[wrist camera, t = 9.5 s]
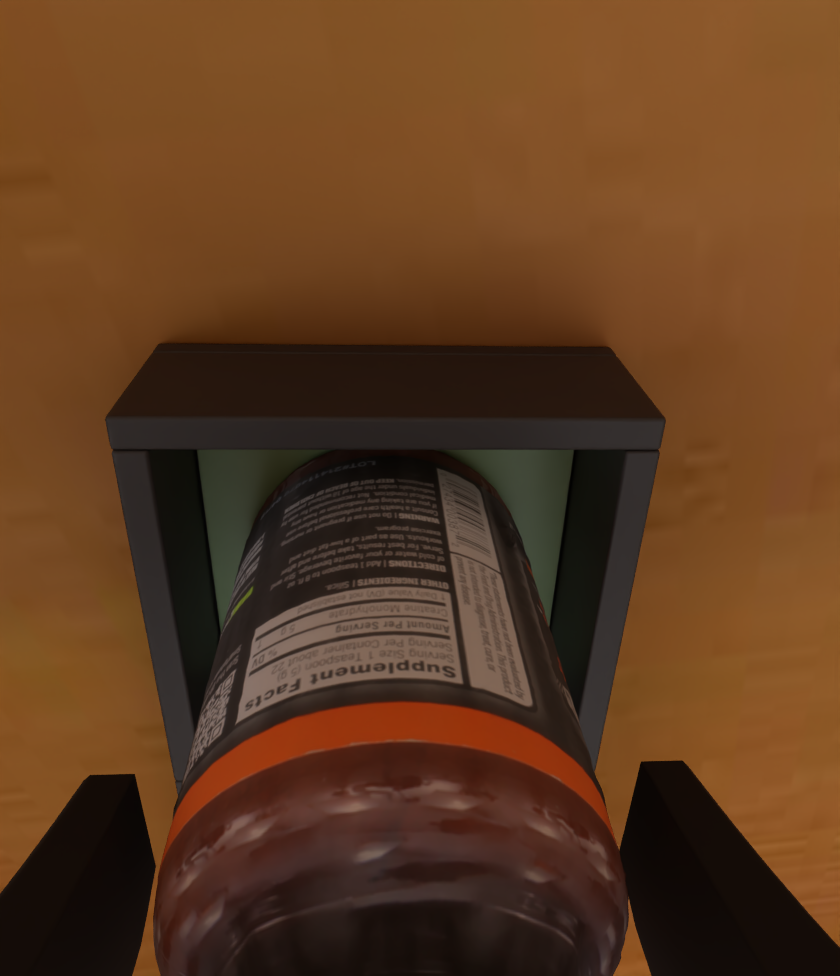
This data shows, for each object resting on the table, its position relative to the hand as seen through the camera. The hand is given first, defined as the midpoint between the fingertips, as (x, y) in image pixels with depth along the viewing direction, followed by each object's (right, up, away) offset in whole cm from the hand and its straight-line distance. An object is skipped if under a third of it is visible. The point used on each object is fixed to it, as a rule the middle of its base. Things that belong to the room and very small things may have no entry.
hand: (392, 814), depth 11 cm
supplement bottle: (0, +3, +6) cm, 7 cm away
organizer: (-1, 0, +8) cm, 9 cm away
